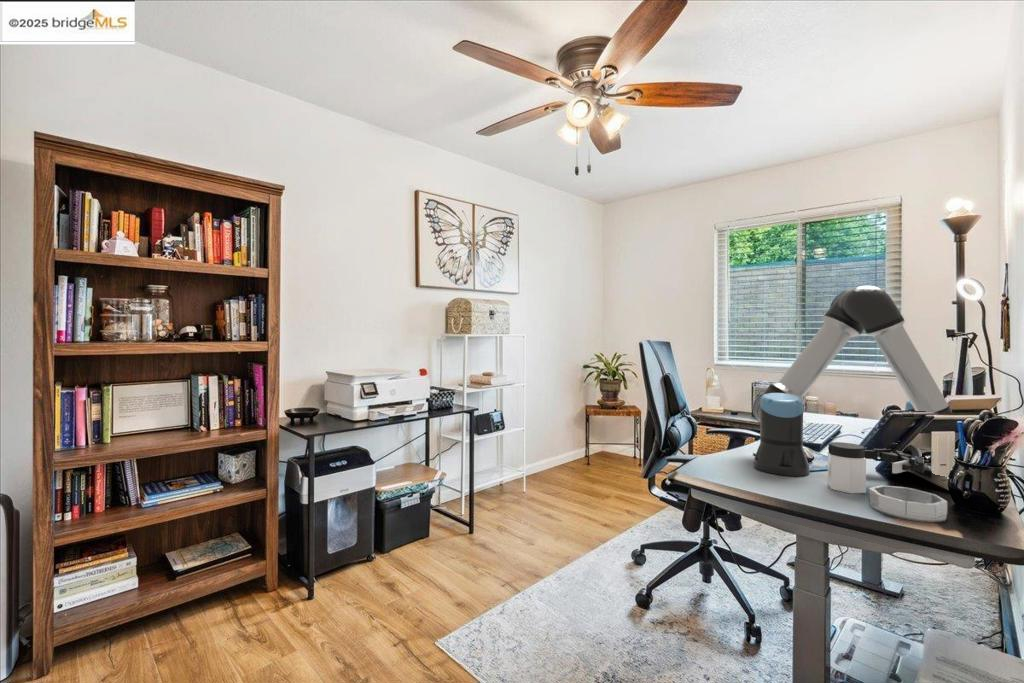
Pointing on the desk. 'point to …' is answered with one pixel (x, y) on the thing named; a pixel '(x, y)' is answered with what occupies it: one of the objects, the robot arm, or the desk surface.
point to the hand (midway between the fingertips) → (865, 462)
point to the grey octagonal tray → (908, 503)
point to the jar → (847, 467)
